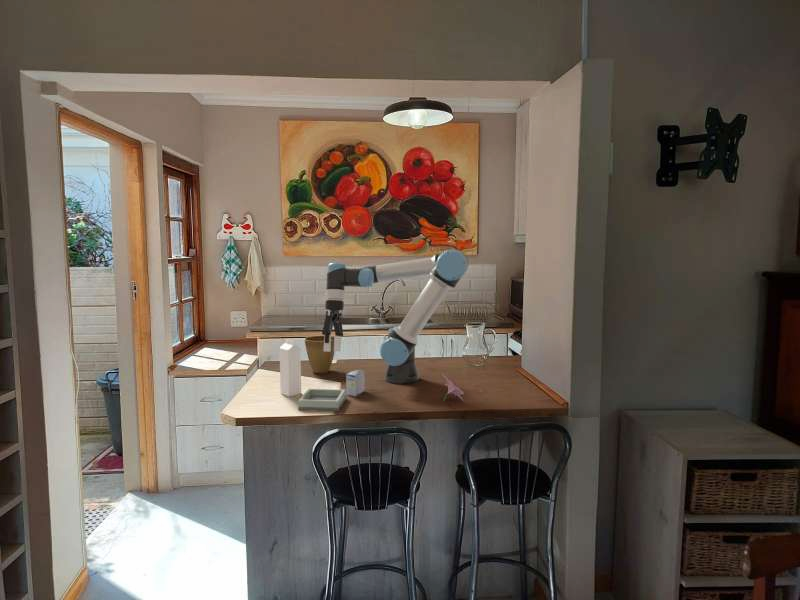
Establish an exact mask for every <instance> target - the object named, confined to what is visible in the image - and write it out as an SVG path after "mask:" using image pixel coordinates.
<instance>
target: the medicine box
mask: <svg viewBox="0 0 800 600" xmlns="http://www.w3.org/2000/svg"><path fill="white" fill-rule="evenodd" d="M345 378H346V379H345V382H346V383H345V386H346V388H345V396H350V395H351V396H350V397H357V396H358V395H361V394H362V393H363V392H365V391H366V371H365V370H359V369H355V370H353V371H350V372H348V373H346V374H345Z"/></svg>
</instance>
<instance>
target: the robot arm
mask: <svg viewBox="0 0 800 600" xmlns="http://www.w3.org/2000/svg"><path fill="white" fill-rule="evenodd" d="M468 268H469V259H468V256H467V254H465V253H464V251H462V250H460V249H456V248H455V249H447V250H444V251H443V252H442V253H437V254H434V255H433V256H431V257H424V258H419V259H418V258H417V259H411V260H405V261H398V262H390V263H383V264H379V265H369V266H364V267H360V268H347V267H346V264H345V263H341V262H339V263H338V262H332V263H331V262H330V263H329V264H328V265H327V271H326V272H327V273H326V289H325V292H324V294H325V299H326V301H325V306H324V308H325V310H326V312H325V318H324V322H323V328H322V332H321V336H324V350H323V351H327V352H330V351H331V336H332V335H331V334H332V332H333V330H334V334H335V335H334V336H333V337H334V351H335V352H341V346H342V345H341V344H342V337H343V336H344V331H343V321H342V312H340V311H343V310H344V306H345V305H344V304H345V302H344V300H345V287H355V288H357V287H360V288H361V287H362V288H370V287H373V285H374V284H377V283H383V282H384V283H386V282H392V281H399V280H404V279H406V280H407V279H414V278H420V277H426V276H427V277H428V276H430V278H429V280H428V282H427V283H426V285H425V286H424V288H423V289H422V291H421V292H420V294H419V295H418V296H417V298H416V300H415V302H414V303H413V304H412V306H411V307H410V309H409V311H408V312H407V313H406V315H405V316H404V317H403V318H404V319H402V321H401V323H400V325H398V326H397V325H396V326H394V327H393V328H392V327H391V328H389V329H388V336H387V338H386V339H385V340H383V342H382V343H381V345H380V349H379V354H380V357H381V359H382V360H383V362H384V363H386V364H387V367H386V369H385V373H384V380H385V382H388V383H392V384H401V385H402V384H403V385H404V383H406V384H412V383H411V382H413V383H416V382H418V381H419V380H420V375H419V371H418V368H417V365H416V346H417V345H418V343H419V342H418V336H419V334H420V333H421V331H422V330H423V329H424V328H425V326H426V324H427V323H428V321H429V320H430V318H431V317H432V315H433V314H434V312H435V310H436V309H437V308H438V307H439V305H440V303H441V302H442V301H443V300H444V299H443V298H444V297H445V296H446V295H447V293H448V291H449V290H453V289H455V288H456V286H457V285H458V283H459V282H460V280H461V279H462V277H463V276H464V275H465V273H466V272H467V270H468ZM418 379H419V380H418ZM417 380H418V381H417ZM415 381H416V382H415Z"/></svg>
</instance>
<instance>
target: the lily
mask: <svg viewBox="0 0 800 600" xmlns="http://www.w3.org/2000/svg"><path fill="white" fill-rule="evenodd" d="M441 375H442V377H444V379H445V381H446V383H444V386H446V387H447V393H446V395H445V397H444V399H443V401H445V400H446V398H447V397H448V394H453V395H455V396H456V395H457V396H458V397H459V398H460V399H461V401H464V398H462V396H461V395H464V394H465V393H464V391H462V390H461V388H459V387H458V386H456V385H454V383H453V382H452V381H451V380H449V378H448V377H447V376H446V375H444V374H443V373H441Z"/></svg>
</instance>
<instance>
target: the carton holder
mask: <svg viewBox="0 0 800 600" xmlns="http://www.w3.org/2000/svg"><path fill="white" fill-rule="evenodd" d="M346 399H347V395H346V389H337V388H308V389H307V390H306V392H304V393H303V395H302V396H301V397H300V398H299V399H298V406H297V407H298V408H297V409H298V411H311V410H316V411H315V412H317V411H318V412H320V411H321V412H339V411H340V409H341V408H342V406H343V404H344V403H343V402H345V401H346ZM340 407H341V408H340Z"/></svg>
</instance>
